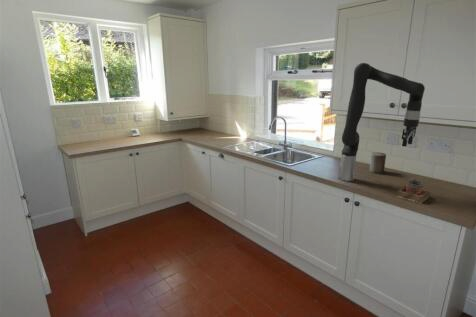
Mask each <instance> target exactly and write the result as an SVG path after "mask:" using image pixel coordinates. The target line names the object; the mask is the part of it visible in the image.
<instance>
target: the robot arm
mask: <svg viewBox="0 0 476 317" xmlns="http://www.w3.org/2000/svg"><path fill="white" fill-rule="evenodd" d="M368 80H371V81H375V82H378V83H381V84H383V85H385V86H387V87H389V88H393V89H395V90H398V91H401V92H404V93H407V94H409V97H408V101H407V105H406V111H405V114H404V119H403V127H405V128H403V129H402V135H401V140H402V144H401V146H402V147H407V145H412V144H413V139H414V138H415V137H416V132H417V127H419V122H420V117H421V109H422V106H423V105H422V104H423V97H424V95H425V94H424V93H425V90H426V88H425V87H426V86H425V85H424V84H423V83H421V82H417V81H413V80H411V79H410V80H409V78H406V77H402V76H400V75H398V74H393V73H388V72H385V71H383V70H380V69H377V68H375V67H374V66H372V65H370V64H369V63H365V62H361V63H359V64H357V65H356V66H355V67H354V71H353V81H352V83H353V84H352V89H351V92H350V93H351V94H350V97H349V101H348V107H347V114H346V118H345V119H346V120H345V125H344V129H343V132H342V135H341V142H342V144H343V148H342V150H341V155H340V156H341V158H340V164H339V166H338V175H337V177H338V178H337V179H339V178H340V179H339V180H341V181H343V180H345V181H344V182H352V181H354V180H355V171H356V163H357V162H356V161H357V154H358V150H359V146H360V145H359V144H360V134H359V133H358V131H357V130H358V125H359V122H360V120H361V117H362V116H363V114H364V109H365V105H366V86H367V82H368Z"/></svg>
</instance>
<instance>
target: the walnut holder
mask: <svg viewBox="0 0 476 317" xmlns="http://www.w3.org/2000/svg"><path fill="white" fill-rule="evenodd" d="M406 187H407V185H404V186H402V187H401V188H399V189H398V190H397V192H396V197H397V198H401V199H404V200H407V199H408V201H411V200H412V202H415V201H416V202H415V203H418V202H419V203H420V204H423V203H424V202H425V201H426V200H428V198H429V197H430V195H431V194H430V193H431V191H430V190H426V189H422V191H421V196H418V195H414V194H410V193H406ZM422 202H423V203H422Z"/></svg>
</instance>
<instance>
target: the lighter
mask: <svg viewBox="0 0 476 317" xmlns="http://www.w3.org/2000/svg"><path fill="white" fill-rule="evenodd" d="M406 186H407V187H406V193H410V194H414V195H418V196H421V191H422V190H423V187H424V185H423V181H422V180H417V179H416V178H415V179H414V178H413V179H412V178H410V179H409V181H407V182H406Z"/></svg>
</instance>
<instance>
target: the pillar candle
mask: <svg viewBox="0 0 476 317" xmlns="http://www.w3.org/2000/svg"><path fill="white" fill-rule="evenodd" d="M386 160H387V154H386V153H384V152H376V151H375V152H371V156H370V164H369V172H370V173H372V174H379V175H380V174H385V165H386Z"/></svg>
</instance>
